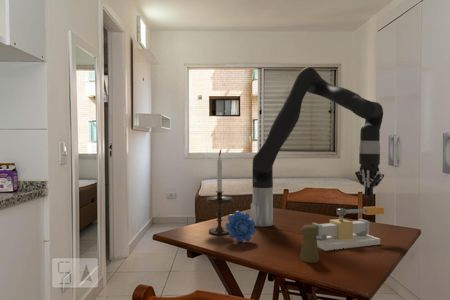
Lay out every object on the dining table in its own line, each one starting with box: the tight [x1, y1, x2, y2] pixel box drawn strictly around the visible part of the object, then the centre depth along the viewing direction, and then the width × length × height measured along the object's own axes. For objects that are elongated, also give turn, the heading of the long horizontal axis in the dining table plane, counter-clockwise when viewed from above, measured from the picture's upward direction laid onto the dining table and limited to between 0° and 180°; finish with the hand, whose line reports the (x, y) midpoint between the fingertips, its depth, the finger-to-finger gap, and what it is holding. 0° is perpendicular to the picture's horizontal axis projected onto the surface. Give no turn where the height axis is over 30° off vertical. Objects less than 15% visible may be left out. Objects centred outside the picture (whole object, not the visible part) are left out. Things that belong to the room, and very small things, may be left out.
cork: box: [299, 224, 320, 263], centre depth 112 cm, size 6×6×11 cm
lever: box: [336, 205, 385, 216], centre depth 133 cm, size 3×19×2 cm, turn 101°
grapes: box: [225, 210, 256, 243], centre depth 130 cm, size 12×7×12 cm, turn 104°
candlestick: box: [206, 149, 233, 236], centre depth 145 cm, size 11×11×35 cm
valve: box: [311, 215, 381, 252], centre depth 132 cm, size 24×14×10 cm, turn 109°
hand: (368, 196), depth 137 cm, fingers closed
